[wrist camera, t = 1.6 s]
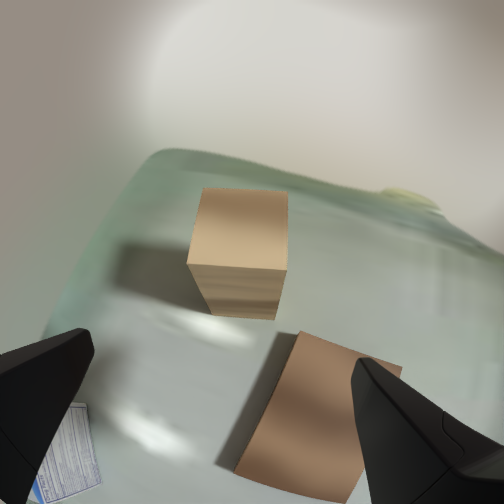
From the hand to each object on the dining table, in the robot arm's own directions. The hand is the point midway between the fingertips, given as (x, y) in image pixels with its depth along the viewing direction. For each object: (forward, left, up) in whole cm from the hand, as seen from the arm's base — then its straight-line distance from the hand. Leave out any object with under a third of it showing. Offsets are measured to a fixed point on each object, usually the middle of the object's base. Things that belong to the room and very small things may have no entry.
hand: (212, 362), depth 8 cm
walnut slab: (+6, -5, -14) cm, 16 cm away
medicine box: (-15, -6, -13) cm, 21 cm away
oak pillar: (+2, +7, -13) cm, 15 cm away
